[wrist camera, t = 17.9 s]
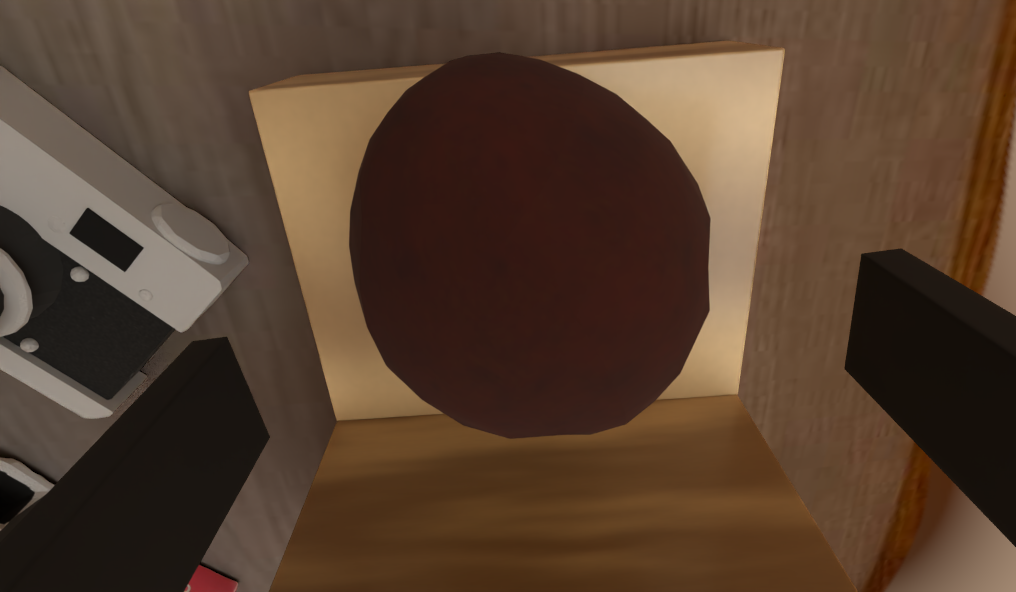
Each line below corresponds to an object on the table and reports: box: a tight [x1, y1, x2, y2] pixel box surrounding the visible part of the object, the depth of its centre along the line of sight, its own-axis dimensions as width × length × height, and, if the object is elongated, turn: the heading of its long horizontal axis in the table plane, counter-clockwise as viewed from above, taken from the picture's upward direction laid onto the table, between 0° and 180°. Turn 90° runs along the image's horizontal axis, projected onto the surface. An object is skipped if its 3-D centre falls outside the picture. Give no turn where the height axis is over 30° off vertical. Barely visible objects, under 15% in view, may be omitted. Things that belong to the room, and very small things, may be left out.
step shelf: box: [249, 41, 858, 592], centre depth 17 cm, size 20×14×12 cm
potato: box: [349, 52, 711, 439], centre depth 13 cm, size 8×9×8 cm
